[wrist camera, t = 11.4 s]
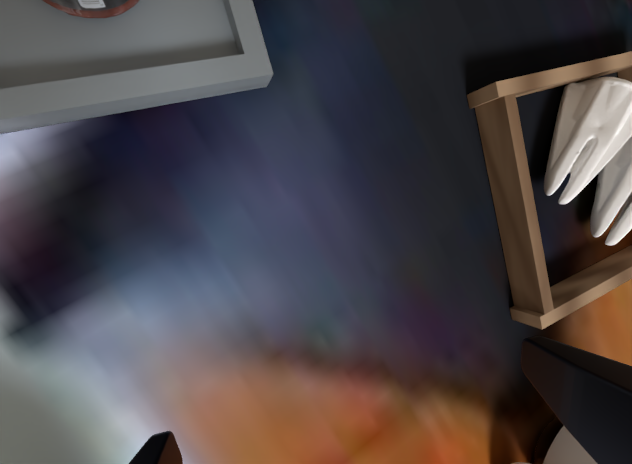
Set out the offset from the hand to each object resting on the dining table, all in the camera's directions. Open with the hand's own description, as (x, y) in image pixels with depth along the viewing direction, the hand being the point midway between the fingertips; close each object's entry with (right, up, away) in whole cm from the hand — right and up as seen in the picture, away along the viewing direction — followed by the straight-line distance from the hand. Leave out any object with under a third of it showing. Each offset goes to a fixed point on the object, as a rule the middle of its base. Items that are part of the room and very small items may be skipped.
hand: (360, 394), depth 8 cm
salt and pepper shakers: (+21, +10, +21) cm, 31 cm away
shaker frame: (+21, +8, +20) cm, 30 cm away
